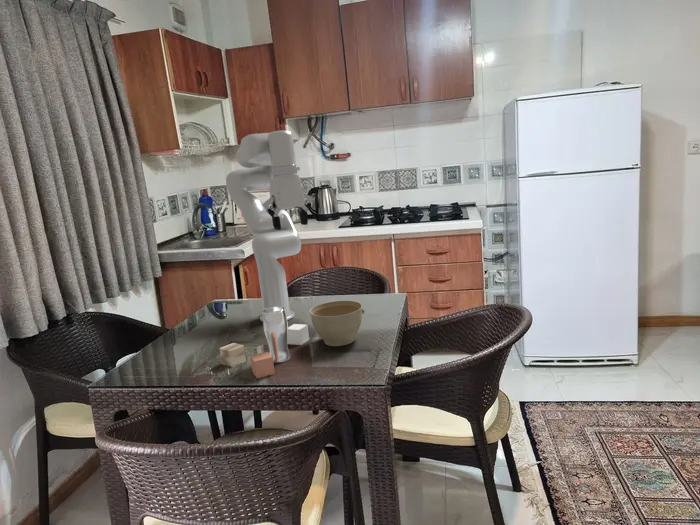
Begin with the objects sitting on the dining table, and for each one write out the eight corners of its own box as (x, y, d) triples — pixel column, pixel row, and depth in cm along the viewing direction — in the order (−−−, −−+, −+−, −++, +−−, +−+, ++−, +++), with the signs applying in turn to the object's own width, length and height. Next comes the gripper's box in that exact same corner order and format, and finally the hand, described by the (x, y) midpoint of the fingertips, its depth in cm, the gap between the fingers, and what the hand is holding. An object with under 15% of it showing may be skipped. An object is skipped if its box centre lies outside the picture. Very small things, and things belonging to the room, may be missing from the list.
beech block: (221, 364, 153) (219, 348, 152) (235, 358, 157) (233, 342, 156) (232, 367, 150) (229, 351, 149) (246, 361, 154) (243, 345, 153)
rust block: (252, 372, 145) (250, 355, 144) (270, 368, 147) (267, 351, 146) (256, 378, 141) (254, 361, 140) (274, 374, 142) (272, 357, 141)
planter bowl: (315, 334, 171) (312, 302, 169) (365, 330, 170) (362, 298, 168) (310, 353, 155) (306, 317, 153) (365, 348, 154) (361, 313, 152)
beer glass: (281, 365, 148) (275, 314, 145) (262, 361, 152) (256, 312, 149) (296, 356, 154) (290, 306, 151) (278, 353, 158) (272, 305, 155)
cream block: (287, 344, 165) (285, 329, 164) (295, 338, 170) (294, 323, 169) (301, 345, 163) (299, 329, 162) (309, 339, 167) (307, 324, 166)
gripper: (302, 169, 170) (308, 222, 173) (253, 175, 160) (261, 230, 163) (314, 168, 164) (320, 223, 167) (265, 174, 154) (272, 231, 157)
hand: (291, 226), depth 165 cm, fingers open, 9 cm apart
